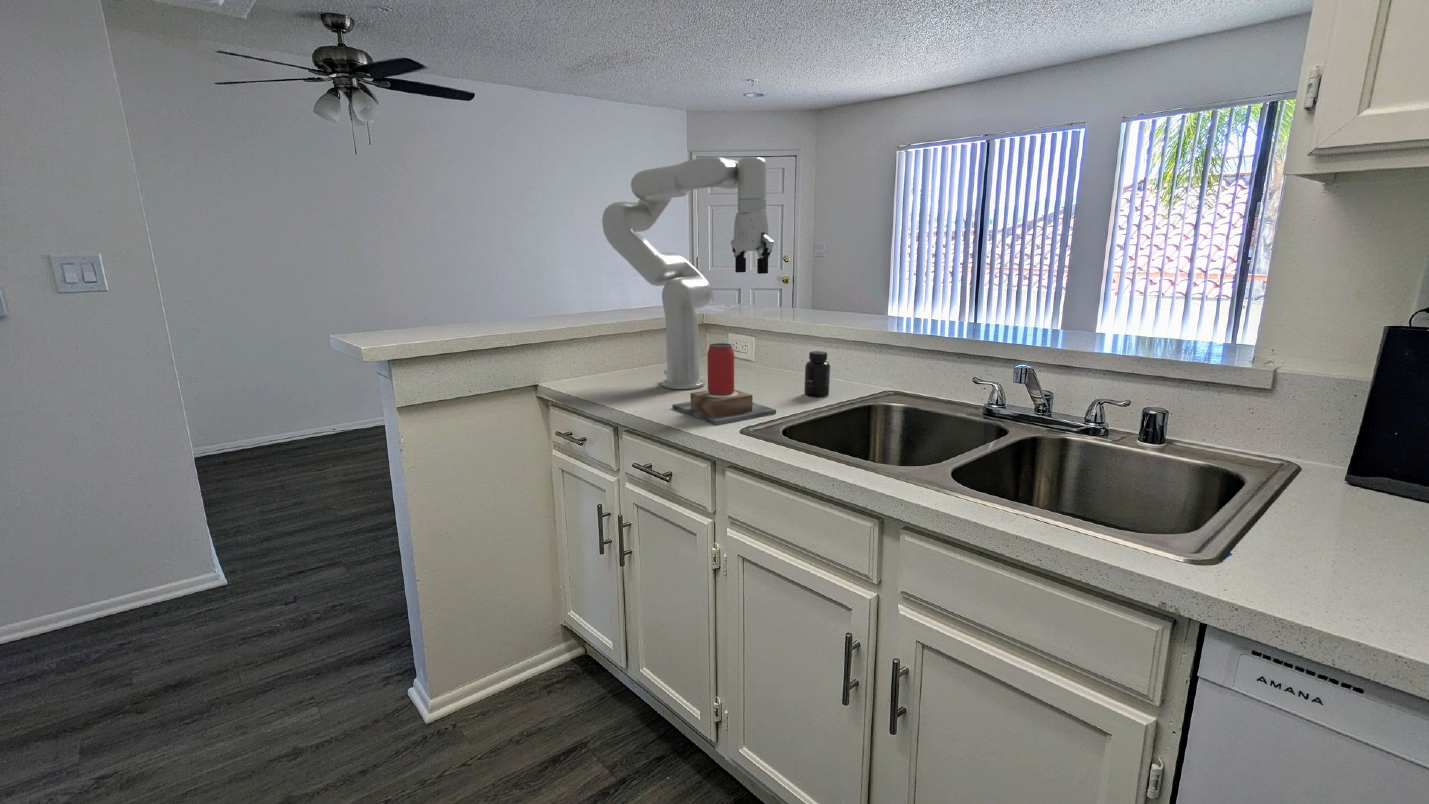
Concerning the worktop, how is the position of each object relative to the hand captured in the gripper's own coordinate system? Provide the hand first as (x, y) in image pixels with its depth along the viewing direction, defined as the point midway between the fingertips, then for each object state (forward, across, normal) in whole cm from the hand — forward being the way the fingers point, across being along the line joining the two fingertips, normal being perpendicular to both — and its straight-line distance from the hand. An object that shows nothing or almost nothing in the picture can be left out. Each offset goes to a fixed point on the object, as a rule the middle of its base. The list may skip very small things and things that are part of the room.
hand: (751, 272), depth 181 cm
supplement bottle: (+34, +13, +13) cm, 38 cm away
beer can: (+28, +14, -20) cm, 37 cm away
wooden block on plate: (+33, +12, -18) cm, 40 cm away
